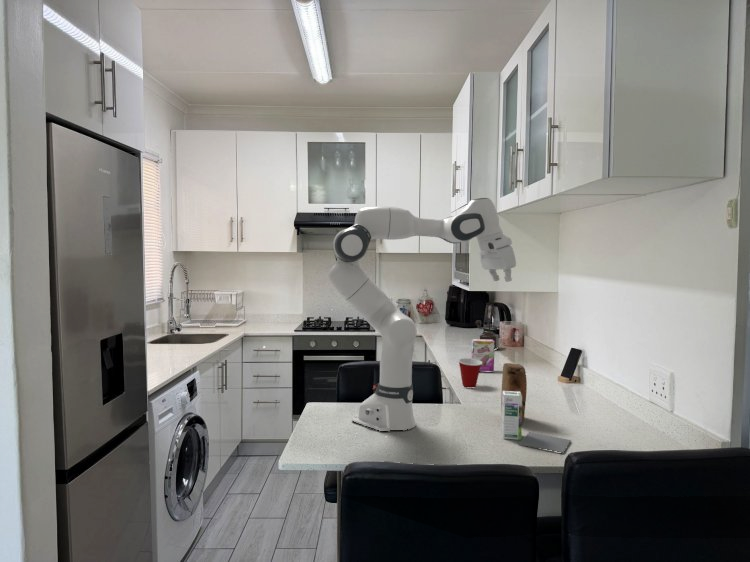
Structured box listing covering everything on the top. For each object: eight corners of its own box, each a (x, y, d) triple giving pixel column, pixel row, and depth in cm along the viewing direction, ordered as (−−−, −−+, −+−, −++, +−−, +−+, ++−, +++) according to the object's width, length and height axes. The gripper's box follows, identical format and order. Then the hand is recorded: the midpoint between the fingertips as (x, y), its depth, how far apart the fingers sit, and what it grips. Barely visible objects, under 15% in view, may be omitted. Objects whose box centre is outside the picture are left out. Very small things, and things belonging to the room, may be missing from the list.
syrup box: (503, 439, 157) (504, 394, 157) (501, 432, 163) (502, 389, 163) (521, 440, 157) (522, 395, 156) (519, 434, 162) (520, 390, 162)
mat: (519, 445, 152) (519, 443, 152) (529, 433, 163) (529, 432, 163) (562, 454, 146) (563, 452, 146) (570, 441, 156) (570, 440, 156)
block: (500, 415, 182) (501, 361, 181) (520, 415, 182) (522, 362, 181) (505, 424, 171) (507, 368, 170) (527, 425, 171) (529, 368, 170)
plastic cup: (470, 391, 215) (470, 364, 214) (452, 385, 224) (453, 359, 223) (487, 387, 221) (487, 361, 221) (469, 382, 230) (469, 357, 229)
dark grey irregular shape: (499, 348, 320) (499, 321, 319) (495, 351, 310) (496, 323, 309) (475, 346, 327) (476, 319, 326) (471, 349, 317) (471, 321, 316)
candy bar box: (472, 372, 251) (473, 340, 250) (470, 370, 256) (471, 339, 255) (494, 372, 251) (495, 340, 250) (492, 370, 256) (492, 339, 255)
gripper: (472, 247, 180) (482, 282, 181) (496, 244, 160) (507, 284, 161) (487, 242, 182) (497, 277, 183) (513, 238, 162) (524, 278, 163)
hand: (502, 281), depth 172 cm, fingers open, 8 cm apart
